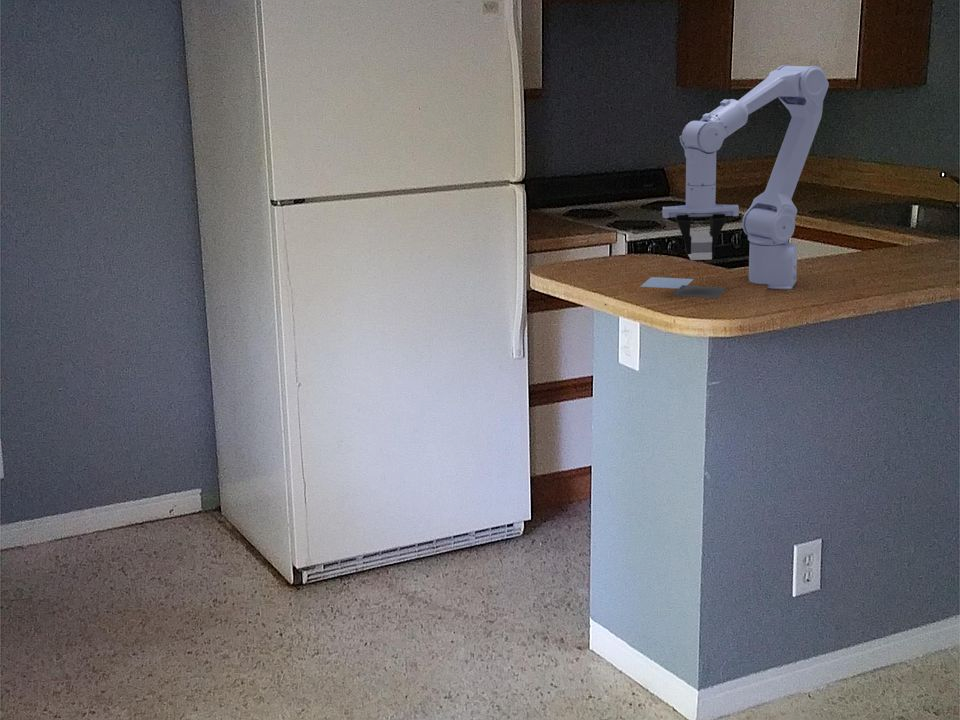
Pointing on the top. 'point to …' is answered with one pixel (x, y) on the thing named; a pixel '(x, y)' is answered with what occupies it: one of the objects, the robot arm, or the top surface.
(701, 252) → the block
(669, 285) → the stand
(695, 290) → the stand
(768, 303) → the top surface
